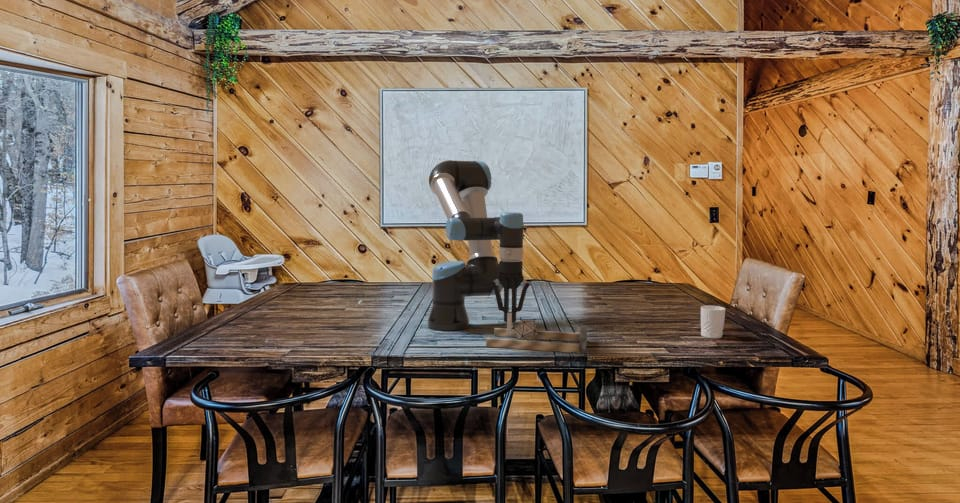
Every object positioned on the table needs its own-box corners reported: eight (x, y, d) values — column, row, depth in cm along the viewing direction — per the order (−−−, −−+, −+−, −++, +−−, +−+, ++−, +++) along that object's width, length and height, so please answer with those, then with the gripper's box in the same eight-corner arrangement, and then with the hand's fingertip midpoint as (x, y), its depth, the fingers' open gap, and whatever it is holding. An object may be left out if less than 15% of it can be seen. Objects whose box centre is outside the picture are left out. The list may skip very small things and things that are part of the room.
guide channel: (486, 346, 178) (486, 331, 177) (495, 334, 192) (495, 320, 192) (585, 353, 171) (585, 337, 171) (586, 340, 186) (587, 326, 185)
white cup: (722, 334, 196) (724, 306, 195) (724, 339, 189) (726, 310, 188) (698, 332, 199) (700, 304, 198) (699, 337, 192) (701, 309, 190)
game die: (530, 352, 184) (549, 328, 184) (523, 350, 177) (542, 324, 177) (510, 336, 188) (528, 312, 188) (502, 332, 180) (521, 308, 181)
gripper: (488, 260, 179) (488, 333, 181) (529, 262, 176) (527, 336, 178) (493, 258, 186) (492, 328, 188) (532, 259, 183) (531, 330, 185)
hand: (509, 331), depth 183 cm, fingers closed
